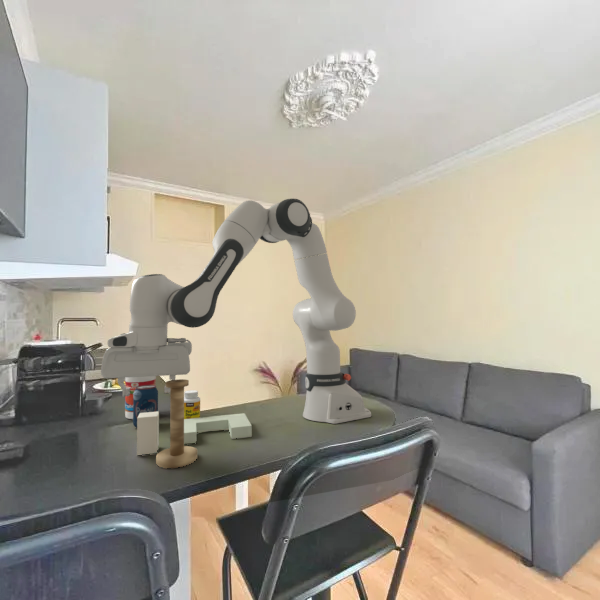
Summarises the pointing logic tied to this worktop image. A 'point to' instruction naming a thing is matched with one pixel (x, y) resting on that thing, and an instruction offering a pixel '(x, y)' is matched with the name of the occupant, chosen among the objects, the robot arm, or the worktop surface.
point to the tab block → (147, 432)
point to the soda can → (144, 400)
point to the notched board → (218, 426)
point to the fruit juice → (132, 384)
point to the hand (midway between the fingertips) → (147, 394)
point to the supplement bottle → (191, 404)
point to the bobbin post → (176, 430)
